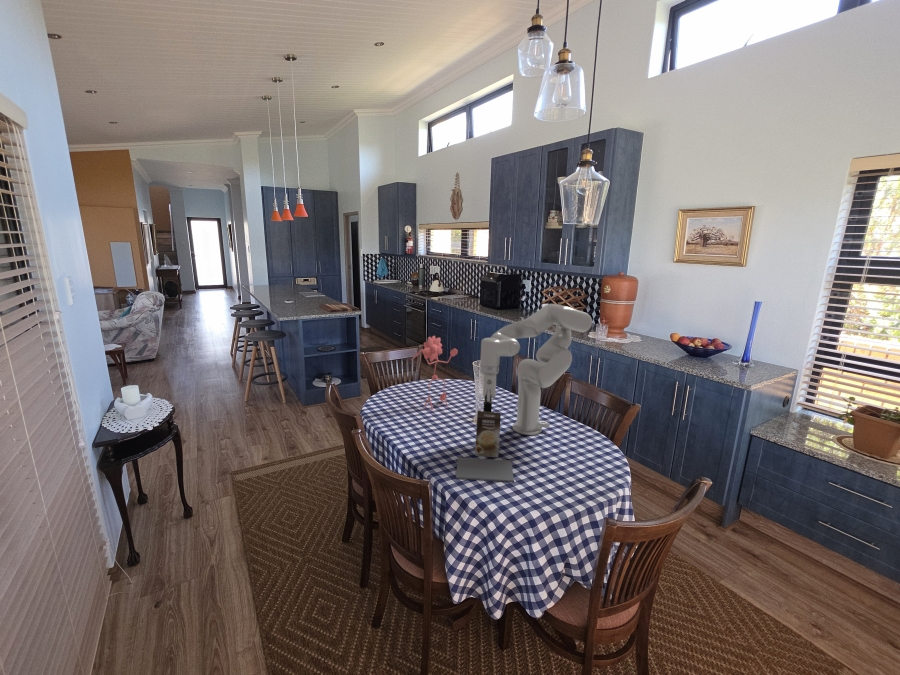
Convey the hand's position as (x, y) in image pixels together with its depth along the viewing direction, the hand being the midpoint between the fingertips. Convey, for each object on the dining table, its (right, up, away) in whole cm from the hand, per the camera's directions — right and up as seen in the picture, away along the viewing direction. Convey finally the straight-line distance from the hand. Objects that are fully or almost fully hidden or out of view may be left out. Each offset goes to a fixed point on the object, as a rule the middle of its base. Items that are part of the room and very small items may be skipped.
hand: (487, 411), depth 180 cm
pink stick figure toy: (-25, -3, +40) cm, 47 cm away
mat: (-3, -17, -22) cm, 28 cm away
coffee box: (-1, -15, -9) cm, 17 cm away
